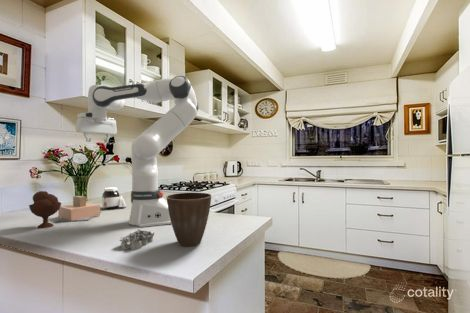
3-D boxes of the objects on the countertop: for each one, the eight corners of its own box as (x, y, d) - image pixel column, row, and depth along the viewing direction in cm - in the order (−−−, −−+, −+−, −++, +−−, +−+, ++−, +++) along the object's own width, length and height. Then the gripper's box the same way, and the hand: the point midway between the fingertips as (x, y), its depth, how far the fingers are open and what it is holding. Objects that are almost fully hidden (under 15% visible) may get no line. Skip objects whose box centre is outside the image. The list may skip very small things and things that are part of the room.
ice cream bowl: (44, 230, 100) (44, 193, 100) (21, 229, 102) (21, 192, 103) (67, 224, 111) (67, 189, 111) (46, 222, 113) (46, 189, 113)
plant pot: (204, 252, 77) (204, 199, 77) (158, 249, 79) (158, 198, 79) (216, 237, 92) (216, 193, 92) (177, 235, 94) (176, 192, 94)
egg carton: (136, 251, 79) (136, 238, 79) (116, 249, 81) (116, 236, 81) (156, 240, 89) (156, 229, 89) (138, 238, 91) (138, 227, 91)
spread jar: (100, 208, 145) (100, 187, 145) (119, 205, 154) (119, 186, 154) (109, 211, 137) (109, 189, 137) (129, 207, 146) (129, 187, 146)
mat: (101, 212, 134) (101, 211, 134) (88, 220, 116) (88, 219, 116) (71, 213, 131) (71, 212, 131) (54, 222, 113) (54, 221, 113)
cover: (86, 212, 133) (86, 193, 133) (99, 215, 125) (99, 195, 125) (58, 217, 122) (58, 197, 122) (71, 220, 115) (71, 199, 115)
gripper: (112, 119, 145) (112, 143, 145) (74, 114, 128) (74, 141, 128) (119, 118, 141) (119, 142, 141) (80, 112, 124) (80, 141, 124)
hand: (97, 142), depth 135 cm, fingers open, 8 cm apart
